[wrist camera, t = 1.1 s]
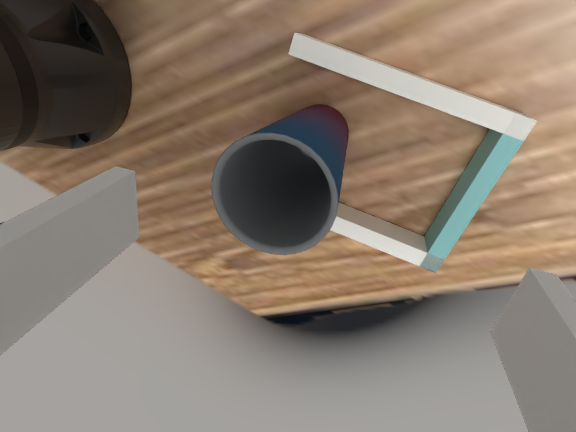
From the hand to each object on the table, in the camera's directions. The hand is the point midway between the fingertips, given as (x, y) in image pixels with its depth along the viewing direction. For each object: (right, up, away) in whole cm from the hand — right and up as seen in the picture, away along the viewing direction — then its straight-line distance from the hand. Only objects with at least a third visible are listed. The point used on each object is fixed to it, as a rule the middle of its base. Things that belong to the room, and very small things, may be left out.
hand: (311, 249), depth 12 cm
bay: (+7, +7, +19) cm, 21 cm away
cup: (+2, +9, +19) cm, 21 cm away
